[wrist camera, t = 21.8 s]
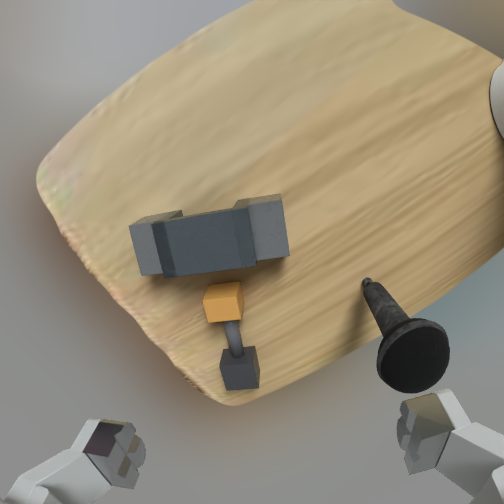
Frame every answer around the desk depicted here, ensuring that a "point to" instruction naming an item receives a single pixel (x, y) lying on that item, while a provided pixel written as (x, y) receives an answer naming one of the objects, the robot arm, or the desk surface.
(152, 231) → the block
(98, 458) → the robot arm
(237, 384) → the plug
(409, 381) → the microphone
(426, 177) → the desk surface
